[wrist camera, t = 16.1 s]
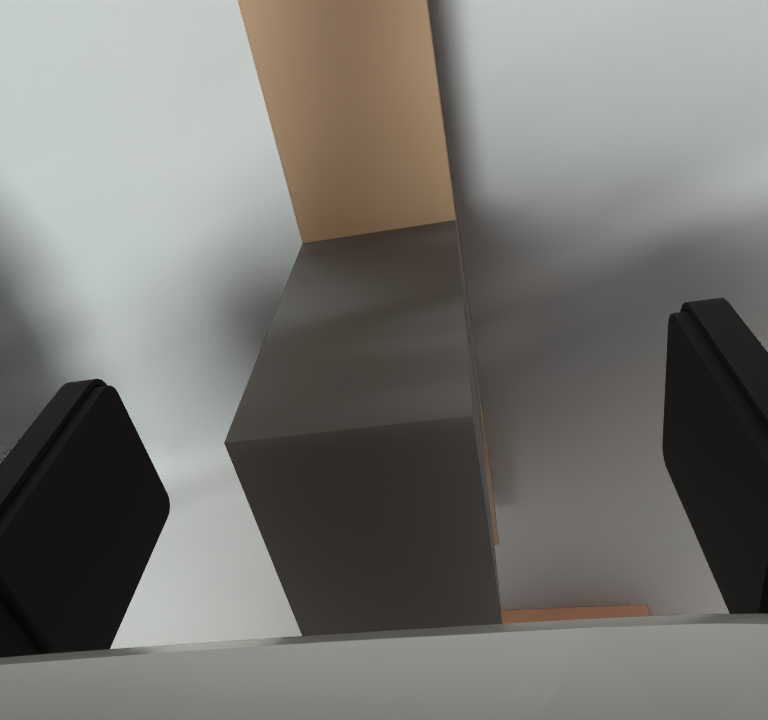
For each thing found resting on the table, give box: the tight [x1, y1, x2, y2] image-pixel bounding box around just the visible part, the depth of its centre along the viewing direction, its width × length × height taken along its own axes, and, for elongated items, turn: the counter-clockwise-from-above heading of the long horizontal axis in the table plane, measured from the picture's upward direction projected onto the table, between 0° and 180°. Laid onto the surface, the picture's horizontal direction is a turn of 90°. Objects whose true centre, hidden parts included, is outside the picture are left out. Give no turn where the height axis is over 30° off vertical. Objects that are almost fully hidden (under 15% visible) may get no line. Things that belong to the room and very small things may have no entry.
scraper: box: [224, 0, 502, 636], centre depth 12 cm, size 3×14×8 cm, turn 10°
